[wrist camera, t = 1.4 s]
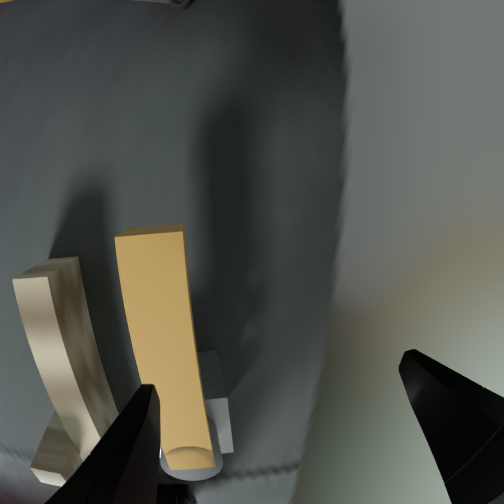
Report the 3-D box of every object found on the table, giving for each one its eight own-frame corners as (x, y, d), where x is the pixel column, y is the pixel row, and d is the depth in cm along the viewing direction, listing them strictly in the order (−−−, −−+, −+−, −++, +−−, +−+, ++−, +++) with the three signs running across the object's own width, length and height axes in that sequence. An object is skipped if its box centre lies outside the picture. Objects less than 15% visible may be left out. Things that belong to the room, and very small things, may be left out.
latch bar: (220, 448, 19) (225, 477, 16) (167, 452, 18) (167, 482, 15) (193, 223, 15) (194, 230, 13) (119, 229, 15) (103, 238, 12)
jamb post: (222, 402, 26) (233, 452, 20) (160, 407, 25) (158, 457, 18) (217, 349, 25) (227, 397, 18) (147, 355, 24) (138, 403, 17)
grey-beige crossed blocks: (124, 428, 25) (113, 504, 15) (74, 426, 24) (51, 494, 14) (78, 256, 21) (16, 298, 11) (20, 261, 20) (-50, 299, 10)
